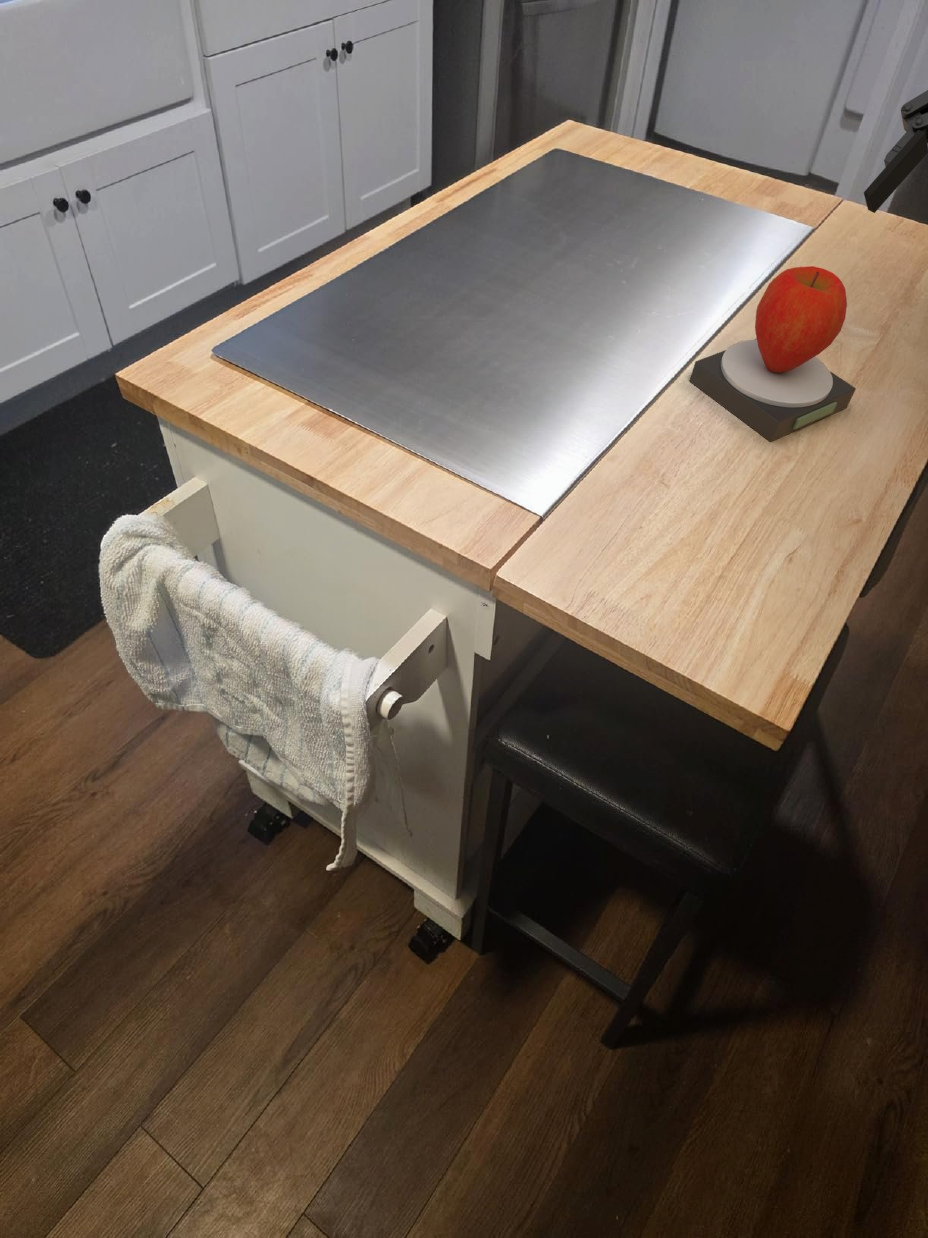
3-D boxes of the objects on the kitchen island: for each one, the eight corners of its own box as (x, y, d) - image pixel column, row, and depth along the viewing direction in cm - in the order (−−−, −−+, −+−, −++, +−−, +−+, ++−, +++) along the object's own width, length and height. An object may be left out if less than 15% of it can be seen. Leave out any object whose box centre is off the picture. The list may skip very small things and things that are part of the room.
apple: (796, 404, 88) (839, 305, 80) (722, 369, 91) (756, 270, 83) (831, 369, 92) (875, 272, 84) (760, 337, 96) (795, 241, 87)
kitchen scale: (848, 409, 93) (860, 384, 91) (772, 443, 88) (782, 418, 86) (764, 351, 100) (773, 327, 97) (688, 381, 95) (696, 356, 92)
